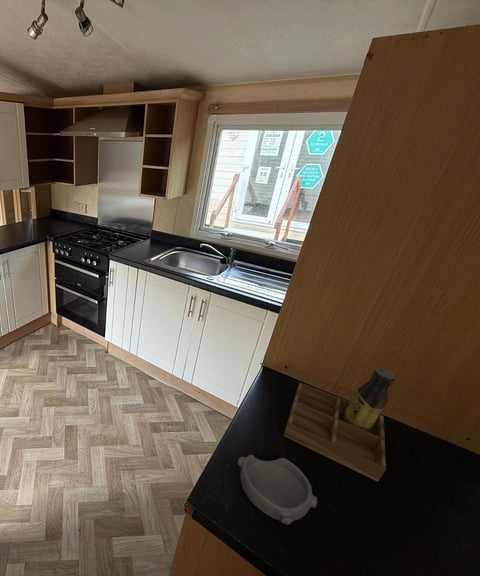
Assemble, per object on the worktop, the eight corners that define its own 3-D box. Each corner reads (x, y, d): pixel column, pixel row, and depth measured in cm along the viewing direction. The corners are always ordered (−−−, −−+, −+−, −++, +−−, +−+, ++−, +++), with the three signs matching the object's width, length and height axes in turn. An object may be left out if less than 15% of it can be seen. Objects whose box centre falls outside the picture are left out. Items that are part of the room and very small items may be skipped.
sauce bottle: (339, 413, 91) (365, 359, 82) (365, 421, 88) (396, 367, 79) (343, 430, 85) (372, 375, 77) (371, 440, 83) (405, 383, 74)
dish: (227, 469, 76) (231, 455, 74) (276, 458, 79) (281, 445, 77) (267, 536, 64) (274, 522, 61) (324, 520, 66) (333, 507, 64)
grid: (295, 393, 99) (300, 382, 97) (376, 426, 88) (383, 414, 86) (283, 435, 85) (288, 424, 83) (378, 481, 74) (386, 469, 72)
